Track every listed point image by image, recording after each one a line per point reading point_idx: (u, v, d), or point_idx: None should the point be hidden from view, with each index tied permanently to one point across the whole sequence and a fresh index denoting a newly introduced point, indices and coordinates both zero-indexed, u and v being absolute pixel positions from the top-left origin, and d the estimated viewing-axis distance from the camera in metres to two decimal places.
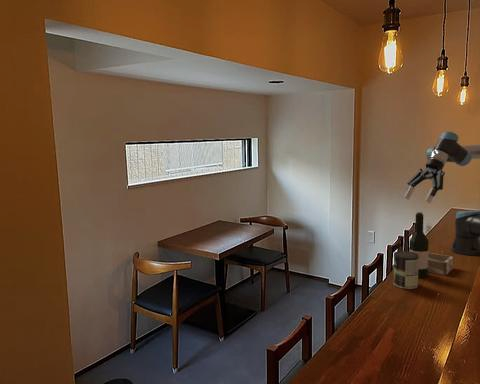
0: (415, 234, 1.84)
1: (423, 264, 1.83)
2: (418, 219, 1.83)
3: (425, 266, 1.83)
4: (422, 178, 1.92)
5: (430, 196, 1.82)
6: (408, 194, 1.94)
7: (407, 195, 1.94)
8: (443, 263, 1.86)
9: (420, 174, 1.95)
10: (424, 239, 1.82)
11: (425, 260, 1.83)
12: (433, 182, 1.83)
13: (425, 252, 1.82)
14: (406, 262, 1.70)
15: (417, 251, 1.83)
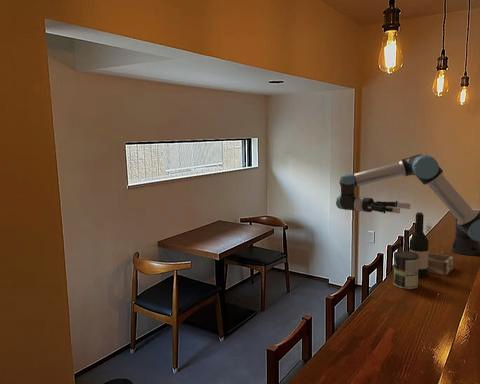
0: (415, 234, 1.84)
1: (423, 264, 1.83)
2: (418, 219, 1.83)
3: (425, 266, 1.83)
4: (384, 205, 2.06)
5: (393, 210, 1.92)
6: (405, 206, 2.02)
7: (407, 207, 2.01)
8: (443, 263, 1.86)
9: (383, 204, 2.09)
10: (424, 239, 1.82)
11: (425, 260, 1.83)
12: None
13: (425, 252, 1.82)
14: (406, 262, 1.70)
15: (417, 251, 1.83)
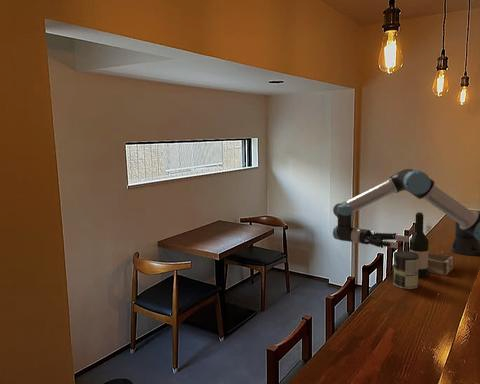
0: (415, 234, 1.84)
1: (423, 264, 1.83)
2: (418, 219, 1.83)
3: (425, 266, 1.83)
4: (382, 237, 2.00)
5: (391, 245, 1.87)
6: (404, 239, 1.96)
7: (405, 240, 1.96)
8: (443, 263, 1.86)
9: None
10: (424, 239, 1.82)
11: (425, 260, 1.83)
12: None
13: (425, 252, 1.82)
14: (406, 262, 1.70)
15: (417, 251, 1.83)
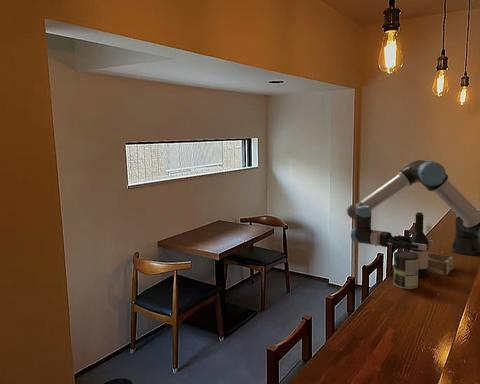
0: (415, 234, 1.84)
1: (423, 264, 1.83)
2: (418, 219, 1.83)
3: (425, 266, 1.83)
4: (403, 240, 1.92)
5: (420, 247, 1.81)
6: None
7: (429, 244, 1.86)
8: (443, 263, 1.86)
9: (402, 238, 1.96)
10: (424, 239, 1.82)
11: (425, 260, 1.83)
12: None
13: (425, 252, 1.82)
14: (406, 262, 1.70)
15: (417, 251, 1.83)
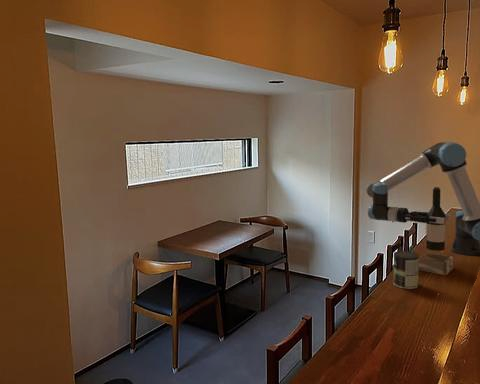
0: (432, 208, 1.89)
1: (440, 237, 1.88)
2: (435, 193, 1.88)
3: (442, 239, 1.88)
4: (420, 215, 1.97)
5: (437, 220, 1.86)
6: None
7: (446, 218, 1.91)
8: (443, 263, 1.86)
9: None
10: (441, 213, 1.87)
11: (442, 233, 1.88)
12: None
13: (442, 225, 1.87)
14: (406, 262, 1.70)
15: (435, 225, 1.87)
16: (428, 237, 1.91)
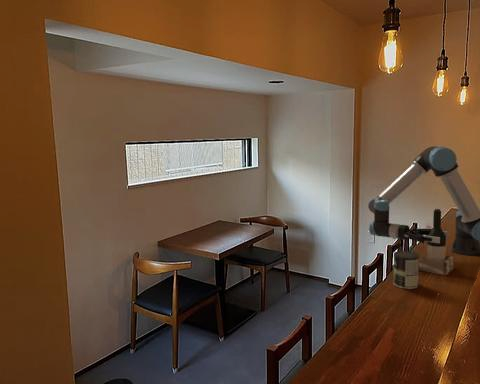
0: (433, 230, 1.91)
1: (441, 259, 1.90)
2: (436, 215, 1.89)
3: (443, 260, 1.90)
4: (421, 233, 2.00)
5: (433, 240, 1.86)
6: None
7: None
8: (443, 263, 1.86)
9: None
10: (442, 234, 1.89)
11: (443, 255, 1.90)
12: None
13: (443, 247, 1.89)
14: (406, 262, 1.70)
15: (435, 246, 1.89)
16: (428, 258, 1.93)
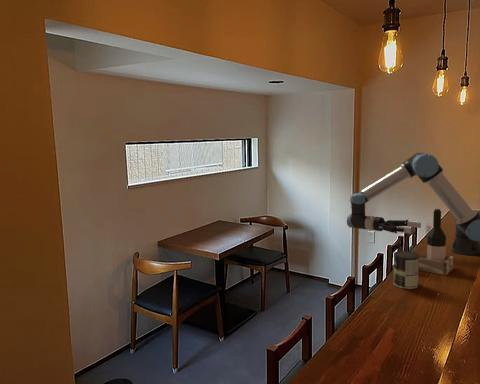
0: (433, 230, 1.91)
1: (441, 259, 1.90)
2: (436, 215, 1.89)
3: (443, 260, 1.90)
4: (395, 224, 2.09)
5: (405, 230, 1.95)
6: (416, 225, 2.05)
7: (417, 226, 2.04)
8: (443, 263, 1.86)
9: None
10: (442, 234, 1.89)
11: (443, 255, 1.90)
12: None
13: (443, 247, 1.89)
14: (406, 262, 1.70)
15: (435, 246, 1.89)
16: (428, 258, 1.93)
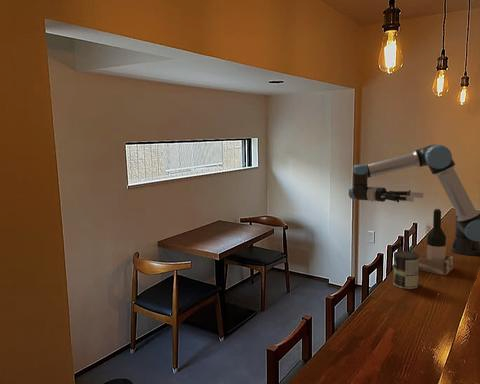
0: (433, 230, 1.91)
1: (441, 259, 1.90)
2: (436, 215, 1.89)
3: (443, 261, 1.90)
4: (397, 194, 2.08)
5: (407, 199, 1.94)
6: (418, 195, 2.04)
7: (420, 196, 2.03)
8: (443, 263, 1.86)
9: None
10: (442, 234, 1.89)
11: (443, 255, 1.90)
12: None
13: (443, 247, 1.89)
14: (406, 262, 1.70)
15: (435, 246, 1.89)
16: (428, 258, 1.93)
